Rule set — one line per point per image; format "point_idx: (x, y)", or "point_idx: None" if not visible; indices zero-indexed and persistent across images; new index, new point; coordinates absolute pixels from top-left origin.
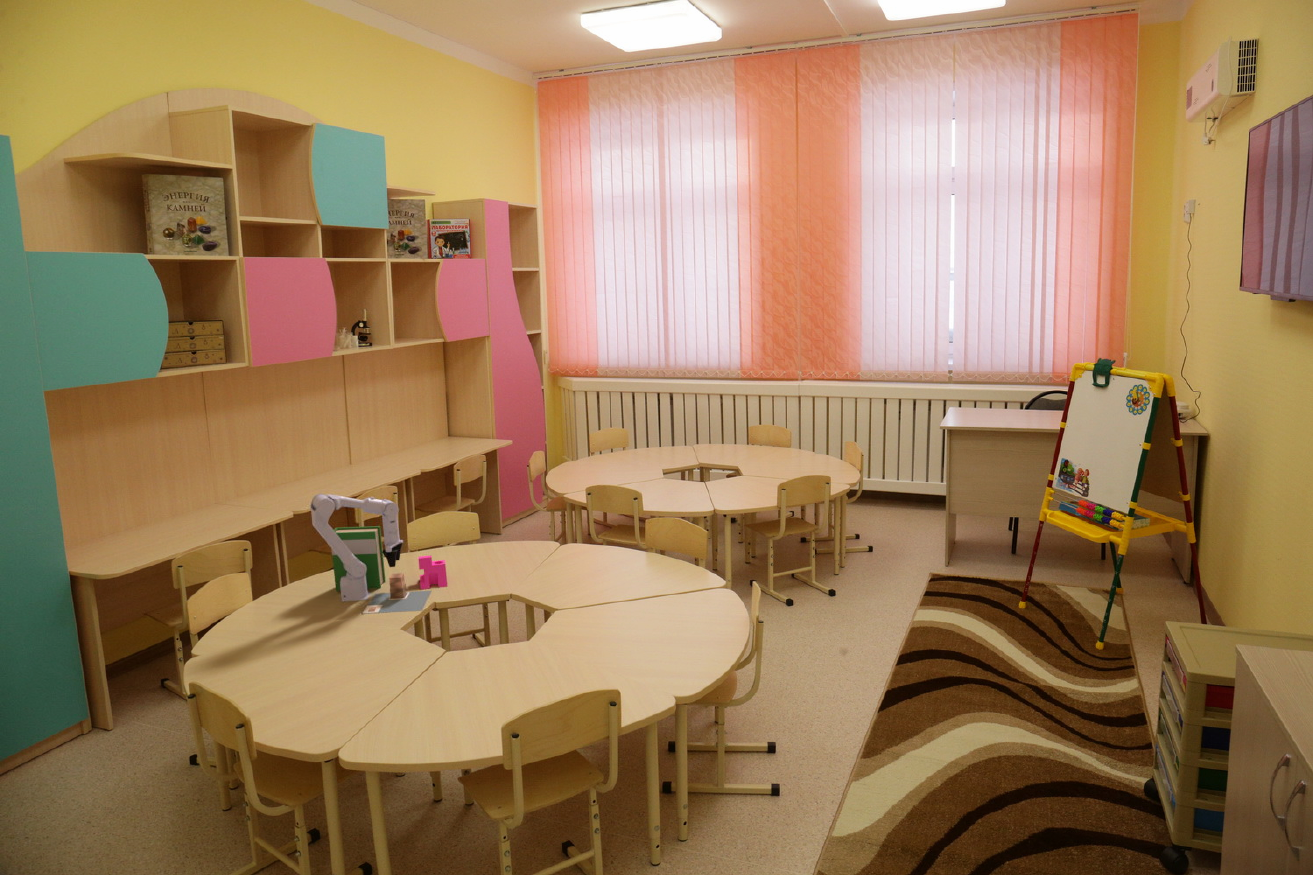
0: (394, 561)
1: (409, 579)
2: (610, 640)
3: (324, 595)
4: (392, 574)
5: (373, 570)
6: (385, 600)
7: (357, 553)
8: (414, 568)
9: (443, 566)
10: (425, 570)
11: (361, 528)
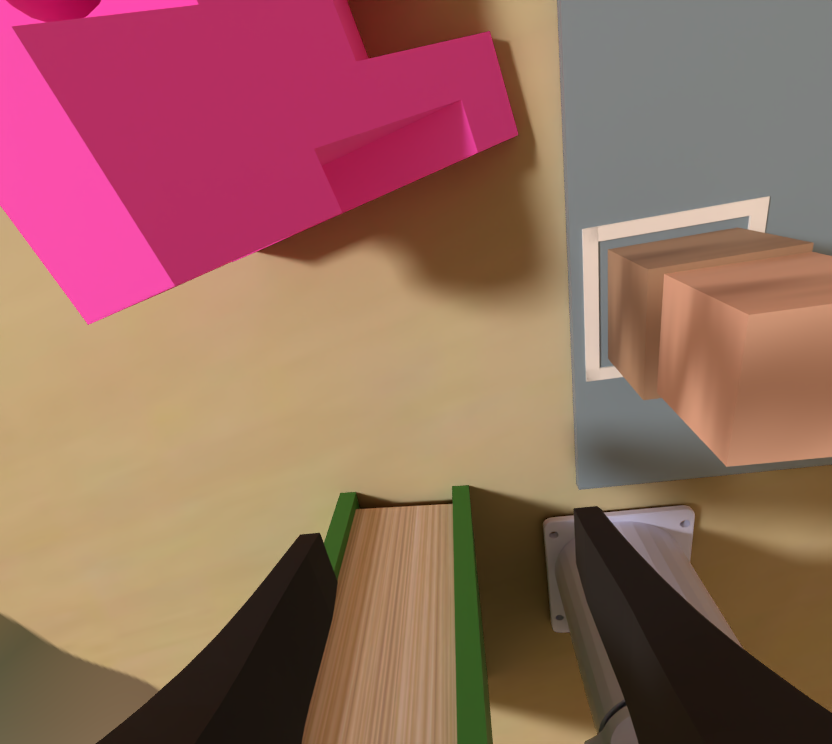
0: (650, 575)
1: (254, 355)
2: None
3: (552, 702)
4: (759, 452)
5: (481, 650)
6: None
7: None
8: (33, 399)
9: None
10: (324, 116)
11: None
